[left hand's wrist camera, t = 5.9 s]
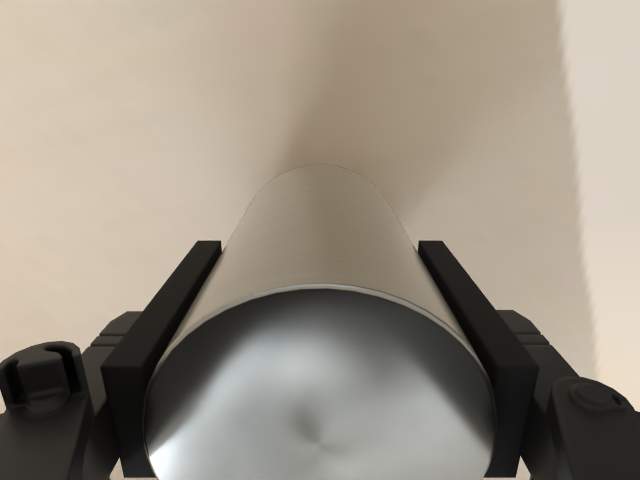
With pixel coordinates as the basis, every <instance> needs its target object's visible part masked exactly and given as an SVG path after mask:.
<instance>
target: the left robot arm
mask: <svg viewBox="0 0 640 480" xmlns="http://www.w3.org/2000/svg"><path fill="white" fill-rule="evenodd" d="M221 253H222V249H221V241H197V242H196V244H195V245H194V246H193V248H192V249H191V250H190V251H189V253H188V254H187V255H186V257H185V258H184V259H183V260H182V262H181V263H180V264H179V266H178V267H177V268H176V269H175V271H174V272H173V273H172V275H171V276H170V277H169V278H168V280H167V281H166V282H165V284H164V285H163V286H162V287H161V289H160V290H159V291H158V293H157V294H156V295H155V296H154V298H153V299H152V300H151V302H150V303H149V304H148V305H147V307H146V308H145V309H144V311H127V312H125V313H124V314H122V315H121V316H119V317H117V318H116V319H114V320H112V321H111V322H110V323H109V324H108V325H107V326H106V327H105V328H104V329H103V331H102V332H101V333H100V335H99V336H97V337H96V339H95V340H94V341H93V342H92V343H91V346H90V347H88V348H87V349H86V350H85V351H84V352H83V353H82V354H81V352H80V348H79V347H78V346H76V345H75V344H74V343H70V342H64V341H56V342H46V343H42V344H38V345H34V346H31V347H28V348H26V349H23V350H21V351H19V352H16V353H14V354H13V355H11V356H10V357H8V358H7V359H5V360H3V361H2V362H1V363H0V390H1V393H2V396H3V399H4V403H5V406H6V411H5V413H2V414H0V480H110V474H111V472H112V470H113V468H114V466H115V465H116V463H117V461H118V459H119V457H120V461H121V465H122V470H123V475H124V478H156V476H155V474H154V472H153V470H152V467H151V465H150V462H149V460H148V457H147V454H146V450H145V445H144V441H143V430H142V412H143V403H144V397H145V394H146V390H147V387H148V383H149V380H150V378H151V376H152V374H153V372H154V370H155V368H156V366H157V364H158V362H159V360H160V358H161V357H162V355H163V353H164V351H165V350H166V348H167V346H168V345H169V343H170V341H171V339H172V338H173V336H174V334H175V332H176V331H177V329H178V327H179V326H180V324H181V322H182V320H183V319H184V317H185V315H186V314H187V312H188V310H189V308H190V307H191V305H192V303H193V302H194V300H195V298H196V296H197V295H198V293H199V291H200V289H201V288H202V286H203V284H204V283H205V281H206V279H207V277H208V276H209V274H210V272H211V271H212V269H213V267H214V265H215V264H216V262H217V260H218V258H219V257H220V255H221ZM418 254H419V256H420V258H421V259H422V261H423V263H424V264H425V266H426V268H427V270H428V271H429V273H430V275H431V277H432V278H433V280H434V282H435V284H436V285H437V287H438V289H439V290H440V292H441V294H442V296H443V297H444V299H445V301H446V303H447V304H448V306H449V308H450V309H451V311H452V313H453V315H454V316H455V318H456V320H457V322H458V323H459V325H460V327H461V328H462V330H463V332H464V334H465V335H466V337H467V339H468V341H469V342H470V344H471V346H472V347H473V349H474V351H475V353H476V354H477V356H478V358H479V360H480V361H481V363H482V365H483V367H484V368H485V370H486V372H487V374H488V377H489V379H490V382H491V385H492V387H493V390H494V395H495V400H496V405H497V420H498V431H497V438H496V444H495V450H494V453H493V456H492V459H491V462H490V465H489V467H488V469H487V471H486V473H485V475H484V477H483V478H516V473H517V469H518V464H519V459H520V455H521V457H522V459H523V461H524V463H525V465H526V467H527V468H528V470H529V472H530V474H531V476H530V480H640V412H637V411H635V410H634V408H633V407H632V405H631V404H630V403H629V401H628V400H627V399H626V398H625V397H624V396H622V395H621V394H620V393H618V392H617V391H616V390H614V389H613V388H611V387H608V386H606V385H604V384H602V383H600V382H598V381H594V380H591V379H587V378H584V377H579V375H578V374H577V373H576V372H575V371H574V370H573V369H572V368H571V366H570V365H569V364H568V363H567V362H566V361H565V360H564V358H563V357H562V356H561V355H560V354H559V353H558V352H557V351H556V349H555V348H554V347H553V346H552V345H550V344H549V342H548V340H547V339H546V338H545V337H544V336H543V335H541V334H540V331H539V330H538V329H537V328H536V327H535V326H534V325H533V323H532V322H531V321H530V320H528V319H527V318H525V317H523V316H522V315H520V314H518V313H517V312H515V311H513V310H495V308H494V307H493V306H492V305H491V303H490V302H489V301H488V299H487V298H486V297H485V296H484V294H483V293H482V292H481V290H480V289H479V288H478V287H477V285H476V284H475V283H474V281H473V280H472V279H471V278H470V276H469V275H468V274H467V272H466V271H465V270H464V269H463V267H462V266H461V265H460V263H459V262H458V261H457V259H456V258H455V257H454V256H453V254H452V253H451V252H450V250H449V249H448V248H447V247H446V245H445V244H444V243H443V241H419V245H418Z"/></svg>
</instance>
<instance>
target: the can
mask: <svg viewBox="0 0 640 480" xmlns="http://www.w3.org/2000/svg"><path fill="white" fill-rule="evenodd" d="M142 430H143V441H144V445H145V450H146V454H147V457H148V460H149V462H150V465H151V467H152V470H153V472H154V474H155V476H156V478H157V479H158V480H482V479H483V477H484V475H485V473H486V471H487V469H488V467H489V465H490V462H491V459H492V456H493V453H494V450H495V444H496V438H497V431H498V420H497V405H496V400H495V395H494V390H493V387H492V385H491V382H490V379H489V377H488V374H487V372H486V370H485V368H484V367H483V365H482V363H481V361H480V360H479V358H478V356H477V354H476V353H475V351H474V349H473V347H472V346H471V344H470V342H469V341H468V339H467V337H466V335H465V334H464V332H463V330H462V328H461V327H460V325H459V323H458V322H457V320H456V318H455V316H454V315H453V313H452V311H451V309H450V308H449V306H448V304H447V303H446V301H445V299H444V297H443V296H442V294H441V292H440V290H439V289H438V287H437V285H436V284H435V282H434V280H433V278H432V277H431V275H430V273H429V271H428V270H427V268H426V266H425V264H424V263H423V261H422V259H421V258H420V256H419V254H418V252H417V251H416V249H415V247H414V245H413V244H412V242H411V240H410V239H409V237H408V235H407V233H406V232H405V230H404V228H403V226H402V225H401V223H400V221H399V220H398V218H397V216H396V214H395V213H394V211H393V209H392V207H391V206H390V204H389V202H388V201H387V199H386V198H385V196H384V195H383V194H382V193H381V191H380V190H379V189H378V188H377V187H376V186H375V185H374V184H372V183H371V182H370V181H368V180H367V179H366V178H364V177H362V176H361V175H359V174H357V173H355V172H353V171H350V170H347V169H345V168H341V167H336V166H330V165H310V166H303V167H299V168H296V169H292V170H290V171H287V172H285V173H283V174H281V175H279V176H278V177H276V178H274V179H273V180H271V181H270V182H269V183H268V184H266V185H265V186H264V187H263V188H262V189H261V190H260V191H259V192H258V193H257V195H256V196H255V198H254V199H253V200H252V202H251V203H250V205H249V207H248V209H247V210H246V212H245V214H244V215H243V217H242V219H241V221H240V222H239V224H238V226H237V227H236V229H235V231H234V233H233V234H232V236H231V238H230V240H229V241H228V243H227V245H226V246H225V248H224V250H223V252H222V253H221V255H220V257H219V258H218V260H217V262H216V264H215V265H214V267H213V269H212V271H211V272H210V274H209V276H208V277H207V279H206V281H205V283H204V284H203V286H202V288H201V289H200V291H199V293H198V295H197V296H196V298H195V300H194V302H193V303H192V305H191V307H190V308H189V310H188V312H187V314H186V315H185V317H184V319H183V320H182V322H181V324H180V326H179V327H178V329H177V331H176V332H175V334H174V336H173V338H172V339H171V341H170V343H169V345H168V346H167V348H166V350H165V351H164V353H163V355H162V357H161V358H160V360H159V362H158V364H157V366H156V368H155V370H154V372H153V374H152V376H151V378H150V380H149V383H148V387H147V390H146V394H145V397H144V403H143V412H142Z"/></svg>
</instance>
